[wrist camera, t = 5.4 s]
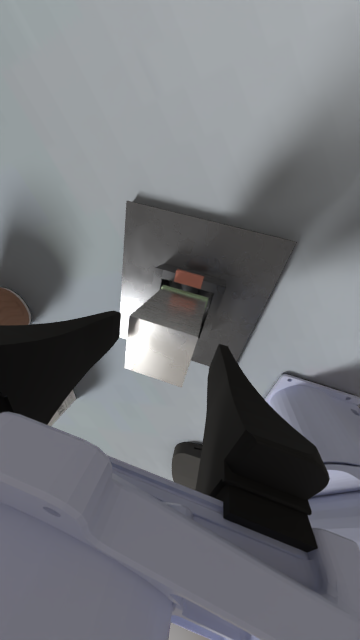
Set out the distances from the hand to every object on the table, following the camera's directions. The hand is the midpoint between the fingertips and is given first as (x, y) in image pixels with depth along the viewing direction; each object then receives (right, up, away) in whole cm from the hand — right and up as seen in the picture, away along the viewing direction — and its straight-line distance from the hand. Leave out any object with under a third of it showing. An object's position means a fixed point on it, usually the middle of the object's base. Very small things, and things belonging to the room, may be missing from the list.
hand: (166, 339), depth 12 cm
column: (+1, +2, +4) cm, 5 cm away
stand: (+2, +4, +8) cm, 9 cm away
